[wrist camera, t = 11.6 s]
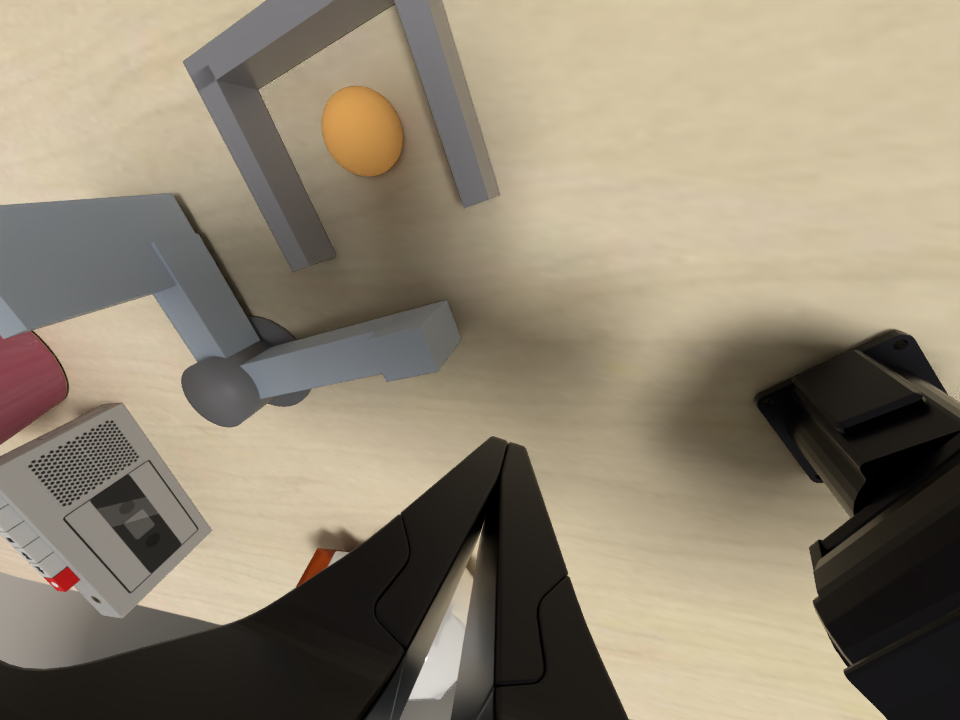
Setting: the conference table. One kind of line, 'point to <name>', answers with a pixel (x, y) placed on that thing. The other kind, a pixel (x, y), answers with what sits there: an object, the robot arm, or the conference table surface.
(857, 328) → the conference table surface
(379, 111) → the ball
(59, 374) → the plant pot
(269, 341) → the pivot plate
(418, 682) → the potion bottle
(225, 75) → the pocket
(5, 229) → the lever
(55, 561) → the cassette player
